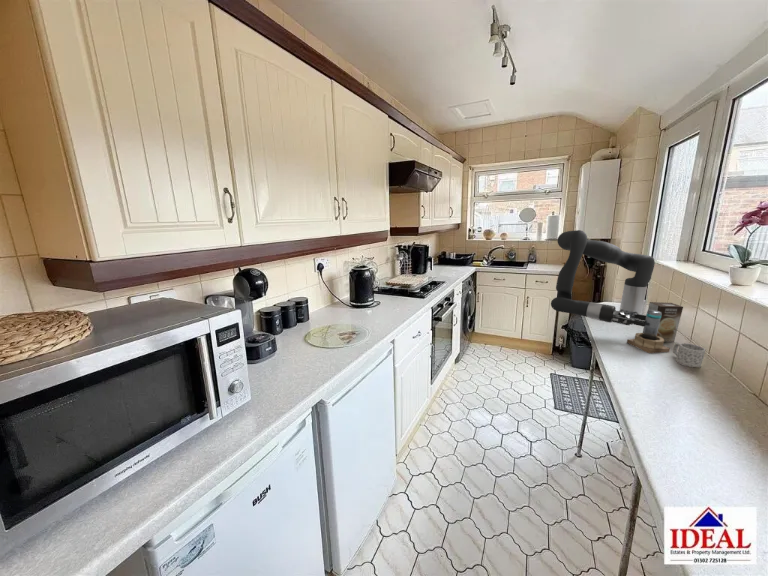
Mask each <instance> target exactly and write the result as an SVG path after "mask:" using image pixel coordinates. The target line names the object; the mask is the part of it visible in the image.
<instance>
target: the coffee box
mask: <svg viewBox="0 0 768 576" xmlns="http://www.w3.org/2000/svg"><path fill="white" fill-rule="evenodd" d="M648 310H654V311H659V312H661V313H662V315H661V319H660V324H659V328H658V332H657V336H659V337H661V338H663V339H664V342H671V343H672V342H674V343H675V340H676V337H677V332H678V329H679V325H680V324H679V323H680V321H681V317H682V313H683V310H684V306H682V305H680V304H677V303H673V302H658V301H655V302H654V301H649V304H648V309H647V311H648Z"/></svg>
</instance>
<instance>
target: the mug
mask: <svg viewBox="0 0 768 576" xmlns="http://www.w3.org/2000/svg"><path fill="white" fill-rule="evenodd" d="M672 353H673V354H674V355H675V356H676V359H675V361H676V362H677V363H678V364H680V365H682V366H684V365H685V367H688V366H689V368H693V367H699V368H701V366H702V364H703V359H704V356H705V353H706V348H704V346H703V347H702V346H700V345H697V344H693V343H690V342H689V343H688V342H687V343H686V342H682V343H680V342H676V343H675V342H674V345H673V348H672Z"/></svg>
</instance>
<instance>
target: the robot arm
mask: <svg viewBox="0 0 768 576" xmlns="http://www.w3.org/2000/svg"><path fill="white" fill-rule="evenodd" d="M556 242H557V245H558V246H559V247H560V248H561V249H562V250H565V251H569V254H568V258H567V260H566V261H565V263H564V265H563V266H562V268H561V269H560V270H559V273H558V275H557V280H556V285H555V290H556V292H557V293H556V297H554V298H552V300H551V302H550V306H551V308H552V309H553V310H554V311H556V312H560V313H566V314H567V313H568V314H573V315H576V316H581V317H584V318H585V317H586V318H589V319H592V320H596V321H602V322H606V323H612V322H613V323H617V324H621V325H626V326H630V325H635V326H638V327H639V326H640V327H644V326H645V324H646V321H645V320H646V315H645V314H644V311H645V307H646V303H647V301H646V299H645V298H646V293H647V288H648V285H649V283H650V281H651V279H652V275H653V272H654V268H655V264H656V263H655V259H654V257H653V256H652V255H648V254H641V253H633V252H628V251H624V250H622V249H621V248H620V247H619V246H617V245H616V244H613V243H611V242H607V241H602V240H595V239H588V235H587V233H586V232H585V231H584V230H577V229H575V230H567V231H564V232H562V233H560V234H559V236H558V237H557V241H556ZM583 255H585V256H587V257H590V258H593V259H596V260H598V261H601V262H604V263H607V264H612V265H616V266H619V267H621V268H623V269H625V270H627V271H630V272H633V273H635V274H634V276H633V277H628V278H625V280H624V284H623V288H622V289H623V290H622V294H621V300H620V305H619V310H616V309H617V308H616V306H615V305H611V304H605V303H601V302H592V301H591V302H590V301H585V300H575V299H573V289H574V288H573V287H574V284H575V283H574V282H575V277H576V274H577V270H578V267H579V266H580V265H579V264H580V262H581V259H582V256H583Z"/></svg>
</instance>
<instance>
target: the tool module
mask: <svg viewBox="0 0 768 576" xmlns="http://www.w3.org/2000/svg"><path fill="white" fill-rule="evenodd" d="M661 315H662V313H661V312H659V311H654V310H648V309H647V311H646V320H645V321H646V324H645V326H643V329H642V333H643V334H642V338H645V339H649V340H654V341H655V340H656V337H657V332H658V328H659V324H660V319H661Z"/></svg>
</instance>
